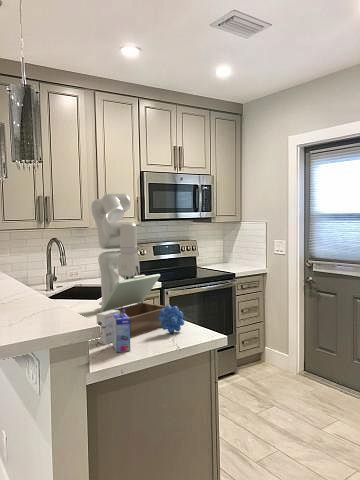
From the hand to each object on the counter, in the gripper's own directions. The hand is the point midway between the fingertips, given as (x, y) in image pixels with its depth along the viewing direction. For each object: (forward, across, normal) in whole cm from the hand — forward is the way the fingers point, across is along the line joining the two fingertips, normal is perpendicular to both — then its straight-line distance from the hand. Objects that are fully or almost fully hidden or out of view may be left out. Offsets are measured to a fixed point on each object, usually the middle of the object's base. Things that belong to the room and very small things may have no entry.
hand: (130, 290), depth 178 cm
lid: (+1, +2, 0) cm, 2 cm away
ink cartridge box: (+15, +21, -23) cm, 35 cm away
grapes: (+15, +24, +2) cm, 29 cm away
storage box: (+16, +5, 0) cm, 17 cm away
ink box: (+16, +10, -20) cm, 28 cm away
